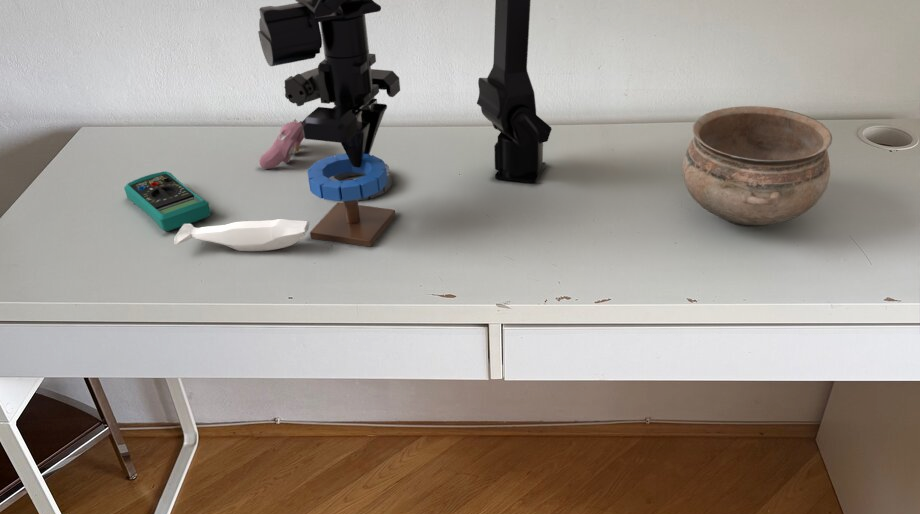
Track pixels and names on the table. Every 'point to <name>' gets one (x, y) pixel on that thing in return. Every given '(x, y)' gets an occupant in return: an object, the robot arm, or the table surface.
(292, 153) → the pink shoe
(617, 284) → the table surface
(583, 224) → the table surface
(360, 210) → the peg stand
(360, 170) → the blue ring
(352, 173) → the grey ring
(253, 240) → the toy fish
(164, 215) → the digital multimeter
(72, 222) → the table surface
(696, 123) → the cooking pot
